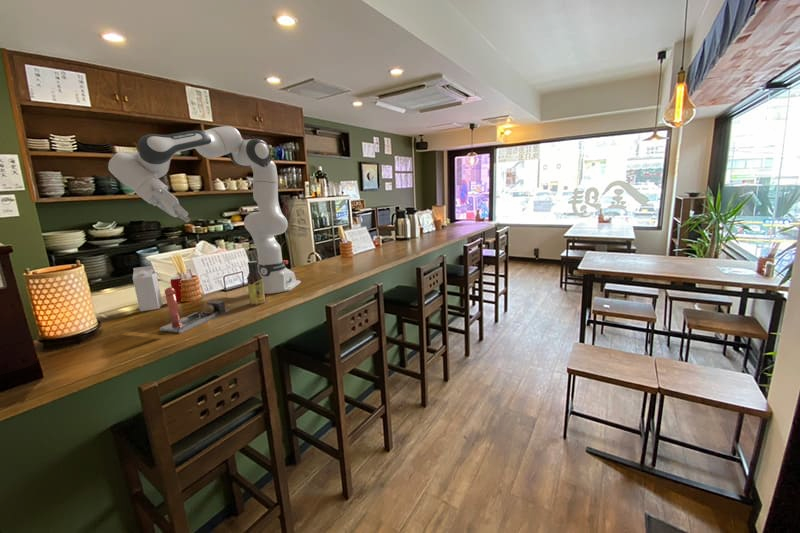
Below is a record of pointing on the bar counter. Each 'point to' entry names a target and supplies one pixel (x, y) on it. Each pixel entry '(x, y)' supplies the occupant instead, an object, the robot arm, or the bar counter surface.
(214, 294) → the bar counter surface
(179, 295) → the soda can
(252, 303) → the sauce bottle
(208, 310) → the walnut
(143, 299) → the milk carton
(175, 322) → the lever
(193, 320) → the bed
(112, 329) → the bar counter surface
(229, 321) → the bar counter surface
